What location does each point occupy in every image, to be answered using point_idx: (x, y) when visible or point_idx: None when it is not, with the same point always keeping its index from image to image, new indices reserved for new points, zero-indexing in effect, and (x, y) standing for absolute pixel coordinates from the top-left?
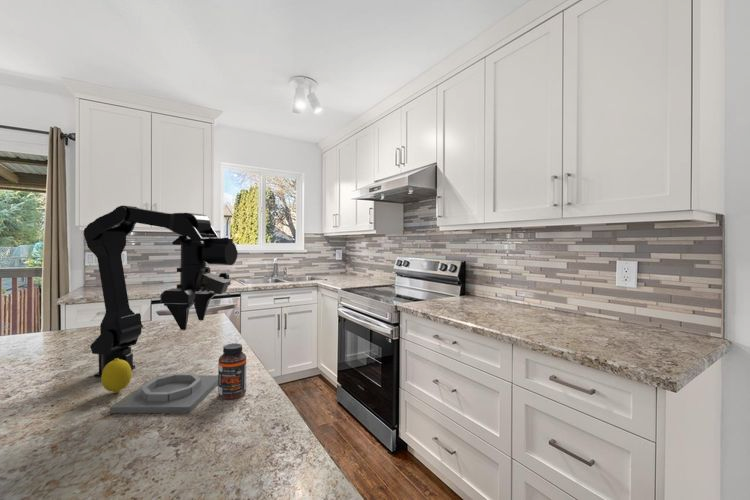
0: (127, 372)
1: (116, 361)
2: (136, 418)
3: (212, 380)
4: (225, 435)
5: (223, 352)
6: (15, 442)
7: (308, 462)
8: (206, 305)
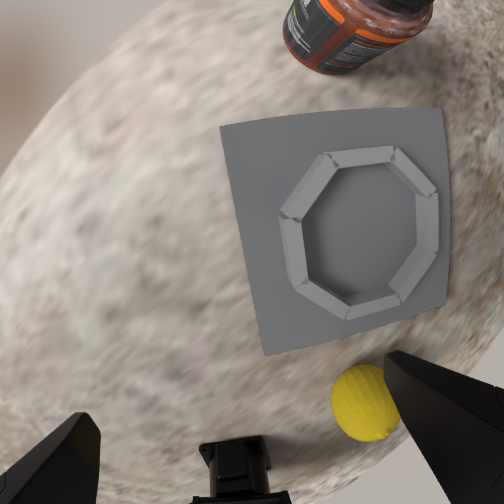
0: (376, 384)
1: (390, 426)
2: (457, 222)
3: (274, 136)
4: (466, 9)
5: (432, 2)
6: (488, 341)
7: None
8: (16, 494)
